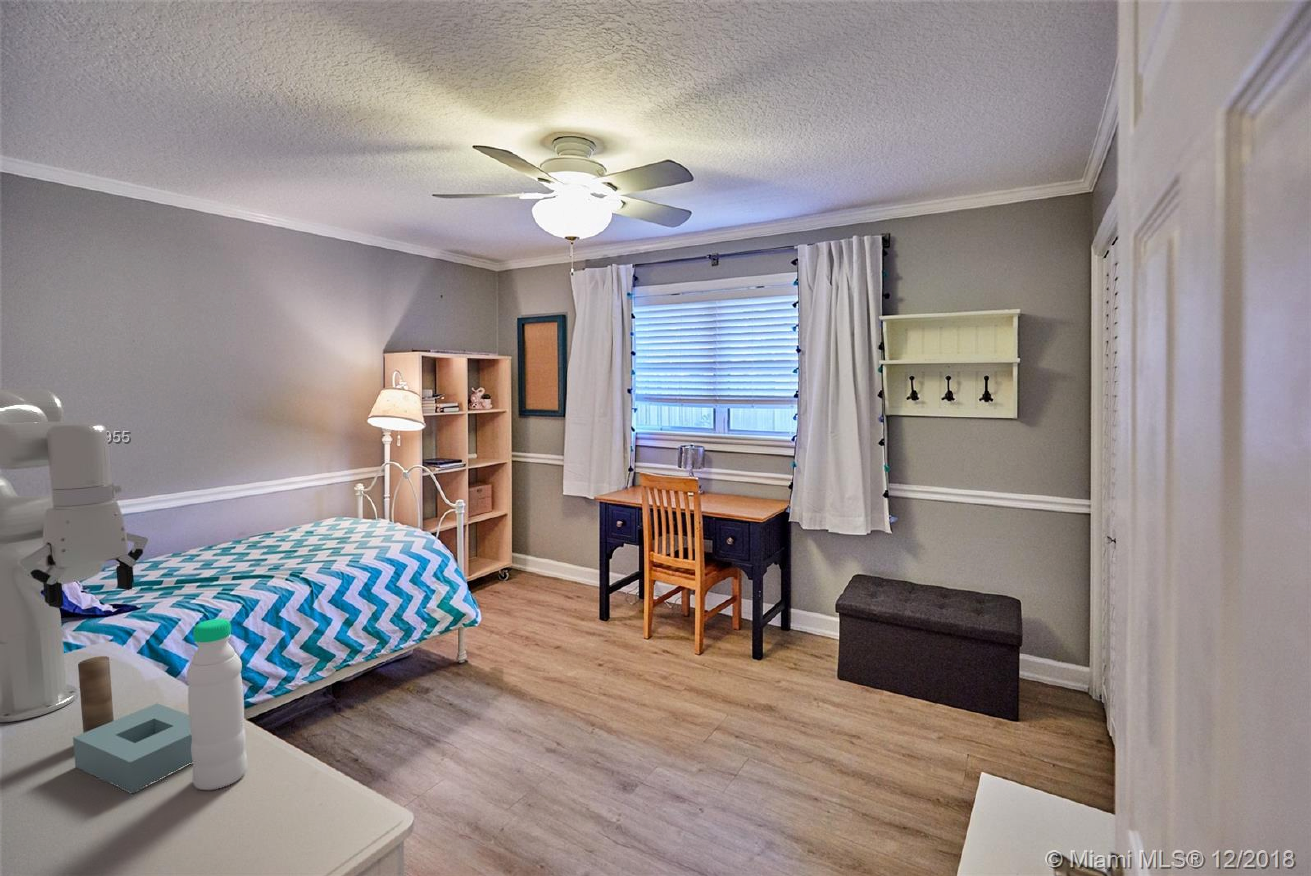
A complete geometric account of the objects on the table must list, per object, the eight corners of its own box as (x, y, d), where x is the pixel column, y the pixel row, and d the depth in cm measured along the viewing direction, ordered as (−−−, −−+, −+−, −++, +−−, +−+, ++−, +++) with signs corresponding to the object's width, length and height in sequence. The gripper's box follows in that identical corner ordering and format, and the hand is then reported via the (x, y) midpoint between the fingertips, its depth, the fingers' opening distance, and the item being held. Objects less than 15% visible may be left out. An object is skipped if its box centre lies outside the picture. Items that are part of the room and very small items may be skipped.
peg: (79, 742, 110) (72, 663, 109) (106, 731, 114) (101, 654, 112) (91, 748, 108) (85, 668, 107) (119, 736, 112) (114, 658, 111)
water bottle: (220, 795, 96) (211, 633, 94) (181, 789, 98) (171, 629, 95) (258, 767, 103) (250, 616, 101) (221, 762, 105) (212, 612, 102)
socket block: (75, 767, 103) (73, 737, 103) (158, 730, 114) (157, 703, 114) (132, 794, 97) (130, 762, 96) (215, 752, 107) (213, 723, 107)
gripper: (130, 488, 117) (137, 580, 118) (3, 504, 101) (13, 611, 103) (154, 490, 114) (161, 585, 115) (27, 507, 98) (37, 617, 99)
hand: (92, 597), depth 109 cm, fingers open, 9 cm apart
